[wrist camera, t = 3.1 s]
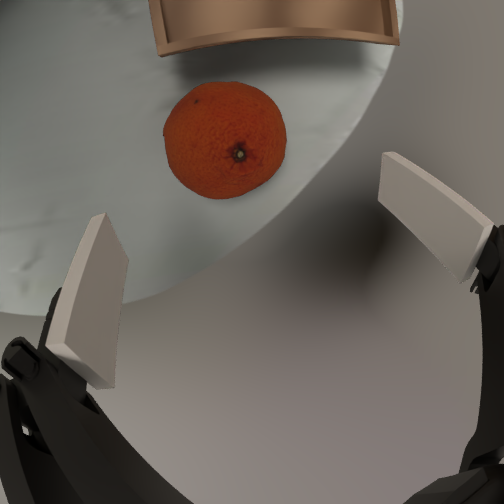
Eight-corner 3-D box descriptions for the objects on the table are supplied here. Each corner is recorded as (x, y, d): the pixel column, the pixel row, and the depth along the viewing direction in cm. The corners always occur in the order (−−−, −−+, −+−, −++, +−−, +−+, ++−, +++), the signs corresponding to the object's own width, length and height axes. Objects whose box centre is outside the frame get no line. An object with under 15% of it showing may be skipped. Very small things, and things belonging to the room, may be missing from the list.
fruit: (250, 64, 18) (282, 64, 12) (279, 153, 24) (316, 191, 18) (148, 104, 19) (131, 124, 13) (190, 189, 24) (195, 240, 18)
